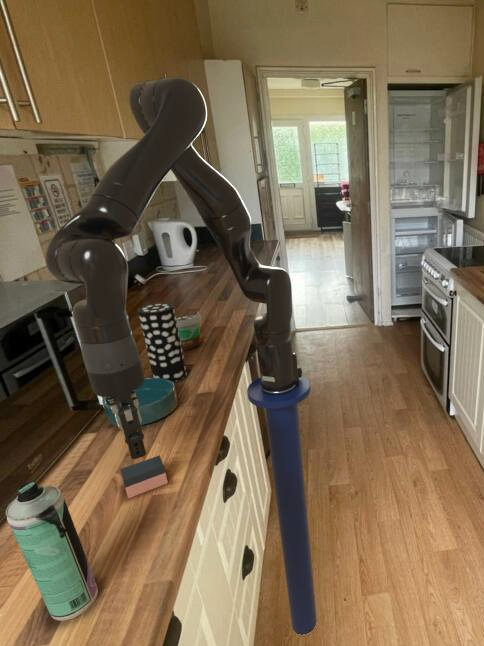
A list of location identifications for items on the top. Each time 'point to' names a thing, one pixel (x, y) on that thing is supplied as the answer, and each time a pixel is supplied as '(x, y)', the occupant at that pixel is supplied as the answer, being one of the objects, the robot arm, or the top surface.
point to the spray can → (52, 550)
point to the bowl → (150, 400)
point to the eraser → (144, 476)
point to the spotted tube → (162, 341)
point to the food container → (189, 330)
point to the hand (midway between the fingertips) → (135, 444)
